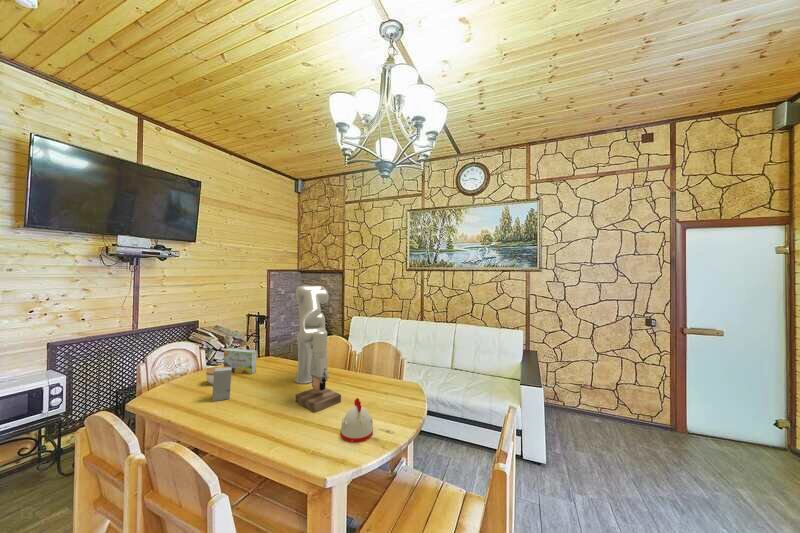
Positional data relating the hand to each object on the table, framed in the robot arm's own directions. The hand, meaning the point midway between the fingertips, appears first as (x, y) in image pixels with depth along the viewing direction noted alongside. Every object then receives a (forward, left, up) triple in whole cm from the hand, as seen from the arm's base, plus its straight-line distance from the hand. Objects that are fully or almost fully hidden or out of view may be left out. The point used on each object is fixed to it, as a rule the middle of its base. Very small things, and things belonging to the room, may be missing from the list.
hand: (318, 387), depth 160 cm
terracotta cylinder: (0, 0, -1) cm, 1 cm away
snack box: (-77, -8, -8) cm, 78 cm away
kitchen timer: (+38, -7, -8) cm, 39 cm away
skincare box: (-42, -32, -8) cm, 53 cm away
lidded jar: (-67, -26, -8) cm, 72 cm away
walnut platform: (0, 0, -8) cm, 8 cm away
